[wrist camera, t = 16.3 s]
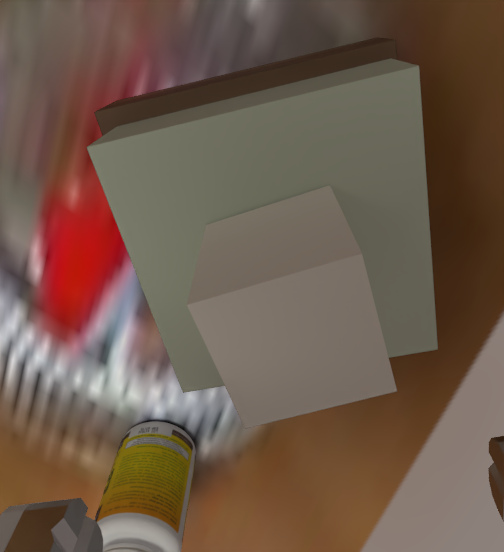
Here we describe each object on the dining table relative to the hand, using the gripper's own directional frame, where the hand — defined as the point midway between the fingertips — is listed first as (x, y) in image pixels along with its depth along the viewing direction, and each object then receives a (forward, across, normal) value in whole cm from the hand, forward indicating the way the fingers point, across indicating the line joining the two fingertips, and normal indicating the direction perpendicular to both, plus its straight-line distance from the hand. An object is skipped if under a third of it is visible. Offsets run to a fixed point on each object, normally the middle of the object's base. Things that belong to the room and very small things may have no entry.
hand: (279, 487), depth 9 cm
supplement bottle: (+19, +12, +17) cm, 28 cm away
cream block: (+11, 0, +1) cm, 11 cm away
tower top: (+15, 0, +1) cm, 15 cm away
